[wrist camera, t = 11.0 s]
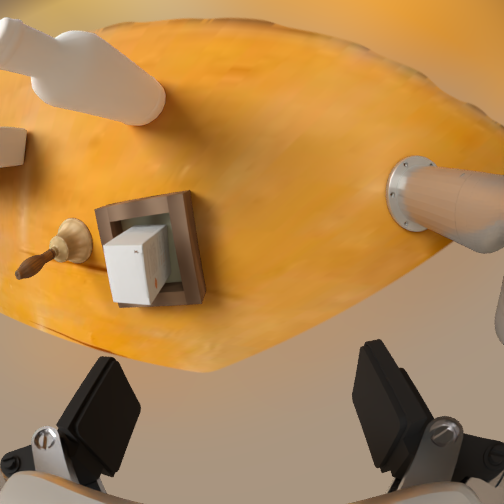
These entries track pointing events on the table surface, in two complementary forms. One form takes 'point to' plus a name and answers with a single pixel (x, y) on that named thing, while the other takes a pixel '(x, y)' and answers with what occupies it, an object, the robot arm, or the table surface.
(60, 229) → the hand bell
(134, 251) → the small box
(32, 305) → the table surface
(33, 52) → the bottle
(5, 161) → the stereo radio cassette player
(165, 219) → the well block
